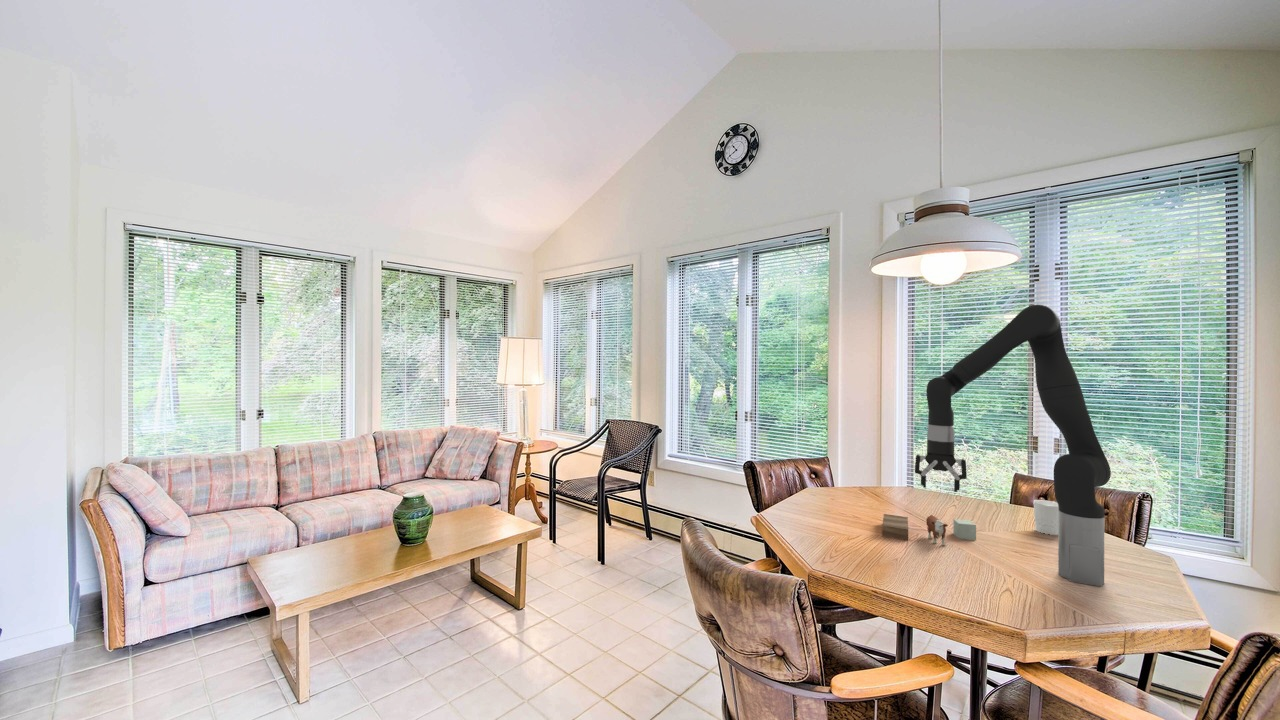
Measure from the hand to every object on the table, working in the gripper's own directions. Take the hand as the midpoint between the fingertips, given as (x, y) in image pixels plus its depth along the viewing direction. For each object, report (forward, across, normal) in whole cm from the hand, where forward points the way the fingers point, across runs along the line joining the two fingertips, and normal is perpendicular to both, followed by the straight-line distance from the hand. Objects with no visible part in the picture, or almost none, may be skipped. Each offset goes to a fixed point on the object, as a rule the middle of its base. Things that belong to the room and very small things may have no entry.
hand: (939, 489), depth 160 cm
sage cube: (+17, +7, +10) cm, 21 cm away
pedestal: (+17, -13, +2) cm, 22 cm away
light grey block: (+17, +32, +31) cm, 48 cm away
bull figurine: (+17, -1, -2) cm, 17 cm away
